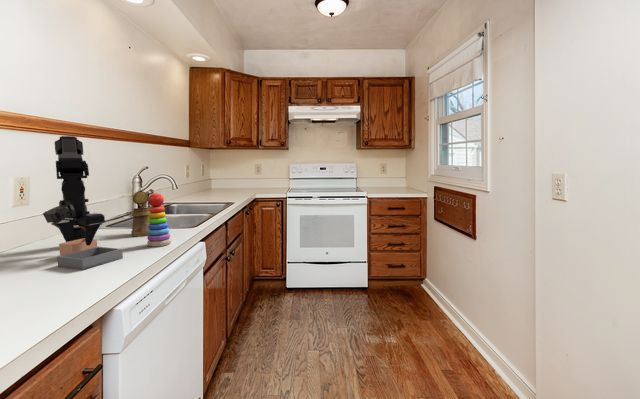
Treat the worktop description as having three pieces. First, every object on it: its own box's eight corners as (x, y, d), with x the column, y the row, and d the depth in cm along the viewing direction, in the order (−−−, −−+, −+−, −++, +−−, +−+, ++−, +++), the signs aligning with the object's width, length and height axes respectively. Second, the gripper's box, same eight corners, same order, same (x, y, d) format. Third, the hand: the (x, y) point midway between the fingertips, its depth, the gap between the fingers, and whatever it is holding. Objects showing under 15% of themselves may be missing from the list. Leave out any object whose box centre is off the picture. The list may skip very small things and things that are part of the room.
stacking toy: (175, 242, 127) (172, 192, 125) (164, 247, 120) (160, 194, 118) (155, 242, 128) (152, 192, 126) (142, 247, 120) (138, 194, 118)
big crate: (58, 266, 98) (57, 256, 98) (99, 255, 110) (98, 246, 109) (83, 270, 95) (82, 259, 94) (122, 258, 106) (122, 248, 106)
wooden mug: (154, 229, 153) (151, 189, 151) (155, 235, 141) (152, 191, 139) (131, 231, 149) (128, 190, 147) (131, 237, 137) (127, 193, 135)
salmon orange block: (60, 257, 108) (58, 243, 108) (85, 251, 116) (84, 238, 115) (73, 259, 106) (72, 244, 106) (97, 252, 114) (96, 239, 113)
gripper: (26, 198, 105) (31, 248, 107) (68, 199, 98) (73, 252, 100) (64, 195, 115) (68, 240, 117) (104, 196, 109) (108, 244, 111)
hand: (78, 244), depth 111 cm, fingers open, 9 cm apart
